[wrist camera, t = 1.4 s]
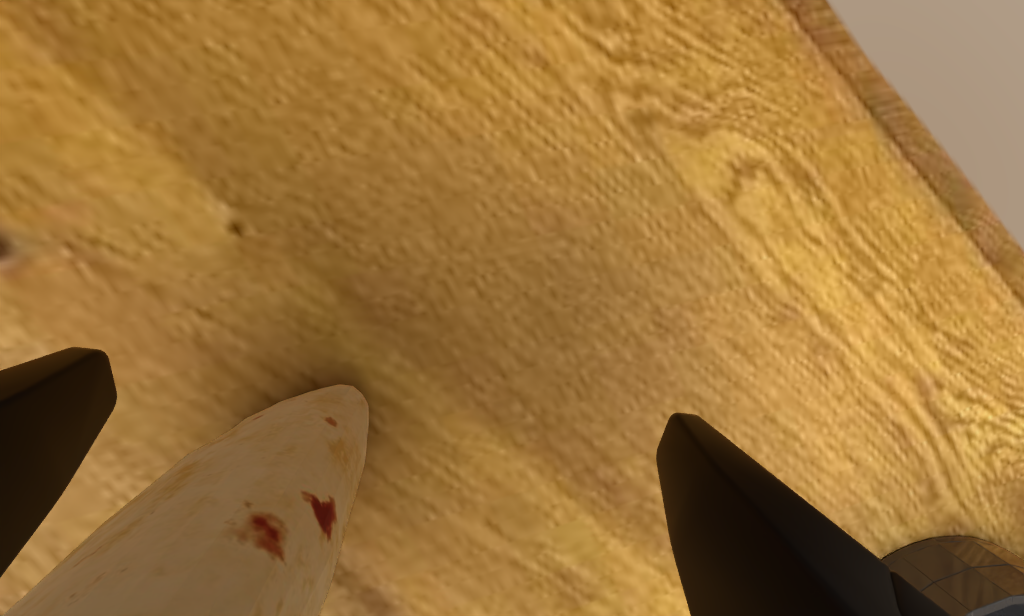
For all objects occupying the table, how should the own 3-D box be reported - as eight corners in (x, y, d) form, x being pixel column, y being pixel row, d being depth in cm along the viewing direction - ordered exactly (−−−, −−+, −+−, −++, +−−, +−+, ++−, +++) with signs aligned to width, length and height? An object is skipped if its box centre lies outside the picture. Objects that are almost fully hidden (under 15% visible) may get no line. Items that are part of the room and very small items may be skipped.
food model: (321, 332, 24) (-326, 876, 4) (422, 433, 25) (267, 1201, 6) (168, 469, 25) (-1012, 1491, 5) (274, 560, 26) (-331, 1659, 6)
